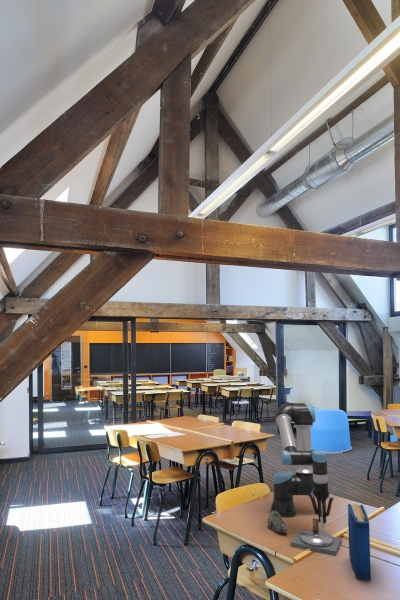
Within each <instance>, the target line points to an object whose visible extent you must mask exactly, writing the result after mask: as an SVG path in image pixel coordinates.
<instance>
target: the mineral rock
mask: <svg viewBox="0 0 400 600" xmlns="http://www.w3.org/2000/svg"><path fill="white" fill-rule="evenodd" d="M266 524H267V525H266V526H267V528H270V529H271V530H273V531H275V532H277V533H282V534H284V533H285V534H288V532H289V531H288V528H287V525H286V522H285V521H284V520H283V517H281V515H280V514H279V513H278V512H277V511H272V512H271V511H270V514H269V517H268V519H267V523H266Z"/></svg>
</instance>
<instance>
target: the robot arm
mask: <svg viewBox="0 0 400 600" xmlns="http://www.w3.org/2000/svg"><path fill="white" fill-rule="evenodd" d="M274 417H275V424H276V425H277V426H278V430H279V435H280V440H281V445H282V450H281V452H280V460H281V464H282V465H284V466H297V469H296V470H295V474H293V472H292V471H288V470H283V471H282V470H281V471H278V472H275V473H274V475H273V480H272V484H273V499H272V503H271V507H270V513H271V512H272V511H277V512H278V513H279V514H280V515H281V518H291V517H295V516H296V515H297V509H296V508H297V507H296V505H295V501H294V496H307V497H309V498H310V501H311V504H312V508H313V512H314V514H315V515H317V517H318V520H319V524H320V531H324V530H326V526H325V525H326V524H327V517H329V516H330V515H331V511H332V510H331V509H332V504H333V501H334V499H335V497H334V496H332V495H330V491H329V483H328V481H329V477H328V476H329V474H328V458H327V457H328V456H327V453H326V451H325V450H321V449H320V450H316V449H312V434H311V428H312V427H313V425H314V424H315V423H316V413H315V408H314V407H313V405H312V404H311V403H305V402H303V403H301V402H300V403H299V402H293V403H292V402H291V403H290V402H287V403H284V404H282V405H281V406H279V408H278V409H277V410H276V412H275V416H274ZM292 423H293V426H294V427H295V428H296V429H295V430H296V440H295V437H294V432H293V428H292ZM327 500H328V503H327Z"/></svg>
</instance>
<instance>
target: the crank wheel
mask: <svg viewBox="0 0 400 600" xmlns="http://www.w3.org/2000/svg"><path fill="white" fill-rule="evenodd" d="M319 524H320V522H319V518H317V517H316V518H315V517H314V518H312V529H307V530H302V531H303V532H301V533H300V539H301V541H302V542H304V543H306V544H308V545H312V546H319V547H323V546H329V545H331V544H332V543H333V537H334V536H333V535H331V533H329V532H325V531H324V530H320V529H319V528H320V527H319ZM332 536H333V537H332Z"/></svg>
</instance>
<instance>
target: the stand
mask: <svg viewBox="0 0 400 600" xmlns="http://www.w3.org/2000/svg"><path fill="white" fill-rule="evenodd" d="M303 531H304V530H298V531H297V532H296V534H295V535H294V537H293V538H292V539H291V541H290V547H291V546H293V547H292V548H295V547H297V548H296V549H300V548H301V550H305V549H310V550H311V552H314V553H315V552H316V553H320V554H325V555H329V556H335V557H336V556H337V555H338V552H339V550H340V547H341V545H342V541H343V540H342V539H343V538H341V537H338V536H333V535H331V536H332V537H333V543H332V544H331V545H329V546H323V547H319V546H312V545H308V544H306V543H304V542H302V541H301V539H300V533H301V532H303ZM310 550H309V551H310Z"/></svg>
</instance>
